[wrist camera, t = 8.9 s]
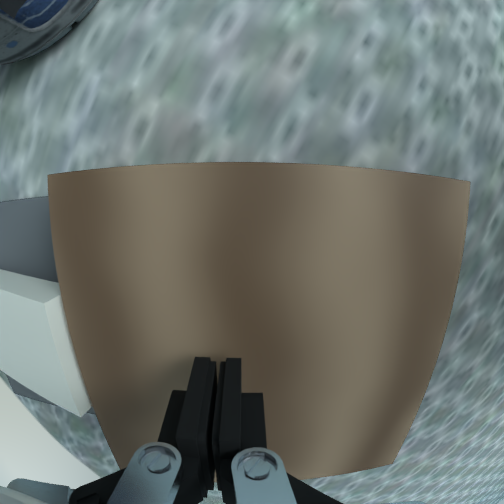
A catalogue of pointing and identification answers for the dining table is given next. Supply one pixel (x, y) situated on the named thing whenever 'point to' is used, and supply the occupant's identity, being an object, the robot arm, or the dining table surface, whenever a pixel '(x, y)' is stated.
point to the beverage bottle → (36, 25)
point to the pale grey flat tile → (39, 342)
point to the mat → (27, 252)
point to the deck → (261, 296)
